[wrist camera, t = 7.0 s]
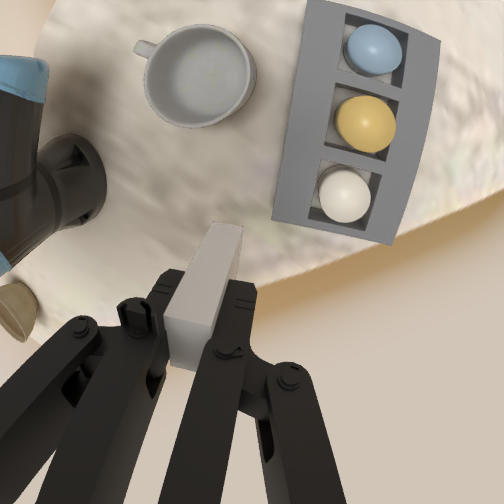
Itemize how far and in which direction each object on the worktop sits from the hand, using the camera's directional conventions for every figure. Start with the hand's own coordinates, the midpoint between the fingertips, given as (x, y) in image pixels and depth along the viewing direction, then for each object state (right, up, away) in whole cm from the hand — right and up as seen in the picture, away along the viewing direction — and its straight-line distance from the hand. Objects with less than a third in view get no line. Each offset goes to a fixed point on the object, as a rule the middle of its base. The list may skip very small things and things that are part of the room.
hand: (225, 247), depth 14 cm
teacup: (-4, +21, +14) cm, 25 cm away
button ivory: (+12, +7, +18) cm, 23 cm away
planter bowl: (-61, -12, +43) cm, 76 cm away
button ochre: (+13, +14, +12) cm, 22 cm away
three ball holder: (+13, +15, +14) cm, 24 cm away
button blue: (+14, +22, +9) cm, 27 cm away
